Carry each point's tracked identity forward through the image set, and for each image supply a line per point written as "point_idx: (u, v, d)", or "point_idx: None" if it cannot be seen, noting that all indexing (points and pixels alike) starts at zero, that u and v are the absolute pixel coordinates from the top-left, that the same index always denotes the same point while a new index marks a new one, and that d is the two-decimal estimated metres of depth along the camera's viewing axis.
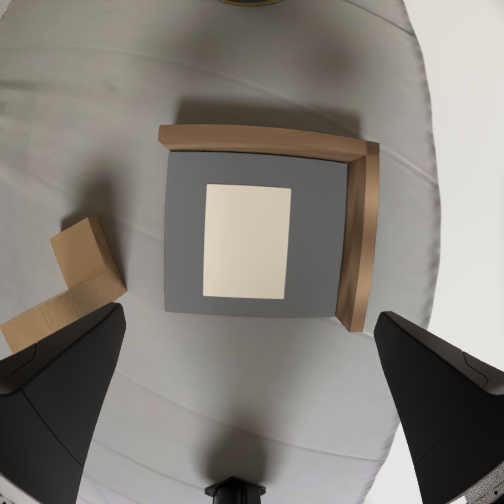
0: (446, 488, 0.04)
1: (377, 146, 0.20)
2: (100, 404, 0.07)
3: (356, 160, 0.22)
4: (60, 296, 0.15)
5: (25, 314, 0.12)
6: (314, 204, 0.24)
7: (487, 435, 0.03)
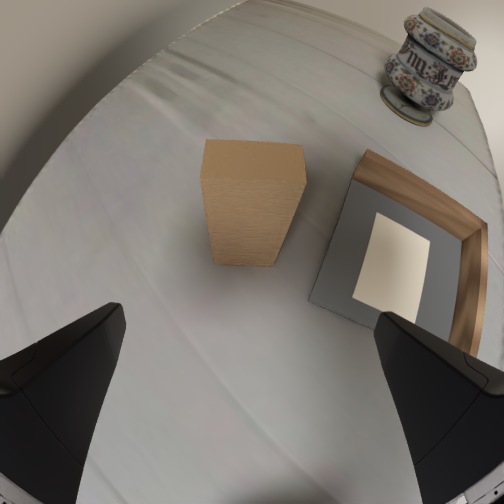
0: (446, 488, 0.04)
1: (486, 225, 0.23)
2: (100, 404, 0.07)
3: (471, 235, 0.25)
4: None
5: (274, 143, 0.14)
6: (442, 259, 0.25)
7: (487, 435, 0.03)
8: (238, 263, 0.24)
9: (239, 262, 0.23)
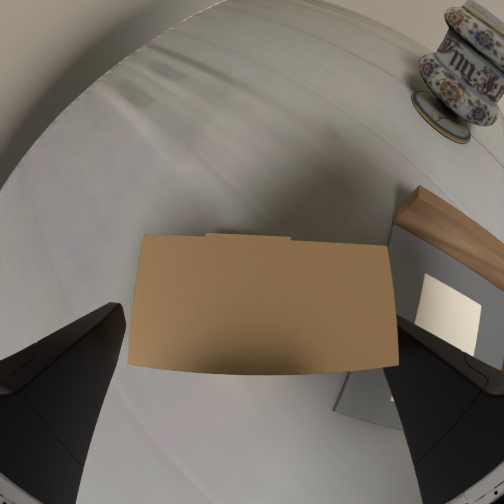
0: (446, 489, 0.04)
1: None
2: (100, 404, 0.07)
3: None
4: None
5: (323, 245, 0.05)
6: (492, 326, 0.17)
7: (487, 435, 0.03)
8: None
9: None
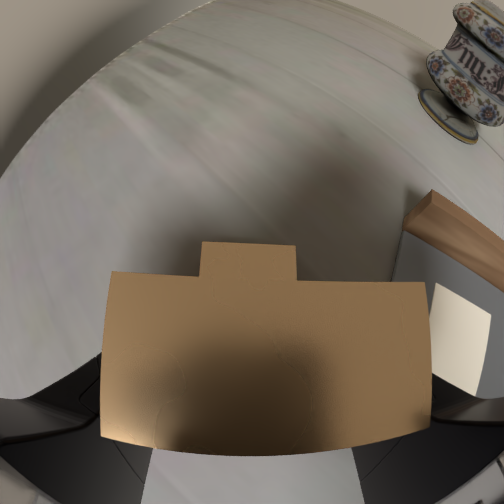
0: None
1: None
2: None
3: None
4: None
5: (349, 286, 0.04)
6: (501, 335, 0.15)
7: (429, 464, 0.03)
8: None
9: None
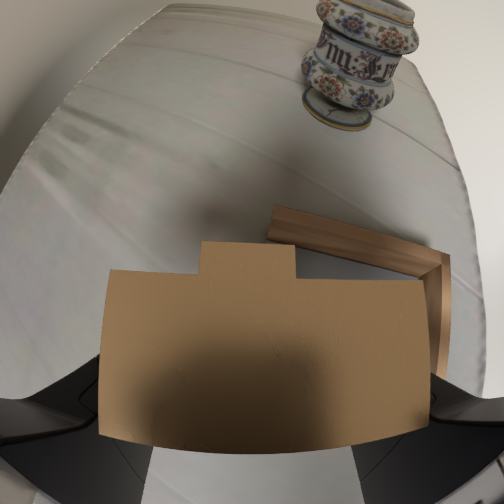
0: None
1: (448, 257, 0.21)
2: None
3: (429, 272, 0.23)
4: None
5: (347, 284, 0.04)
6: None
7: (429, 464, 0.03)
8: None
9: None
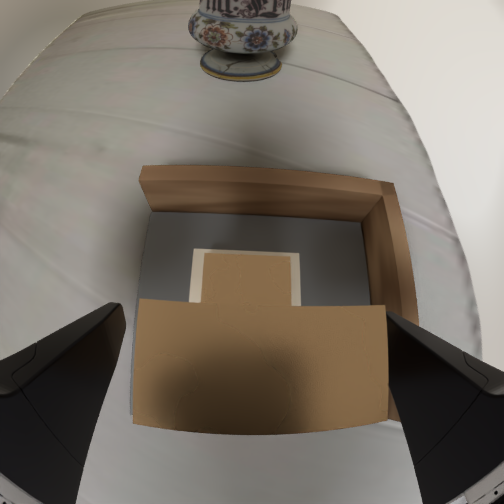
0: (446, 488, 0.04)
1: (392, 186, 0.17)
2: (100, 404, 0.07)
3: (371, 211, 0.19)
4: None
5: (320, 309, 0.05)
6: (329, 271, 0.19)
7: (487, 435, 0.03)
8: None
9: None
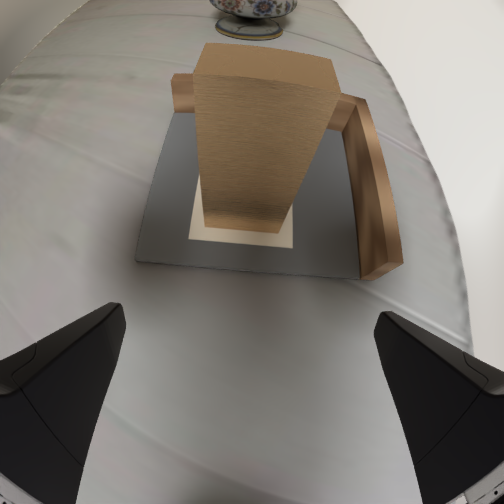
0: (446, 488, 0.04)
1: (364, 100, 0.21)
2: (100, 404, 0.07)
3: (348, 119, 0.22)
4: None
5: (295, 52, 0.09)
6: (315, 157, 0.22)
7: (487, 435, 0.03)
8: (235, 227, 0.19)
9: (236, 225, 0.18)
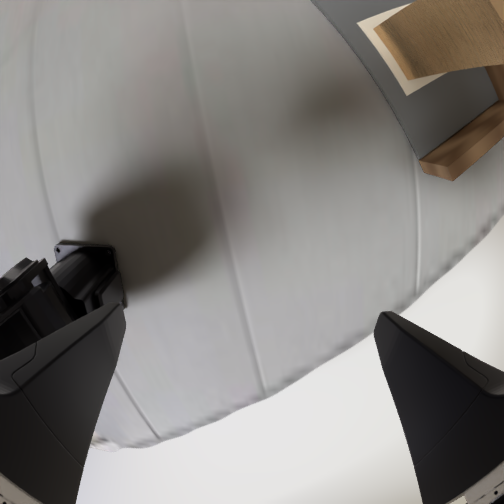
0: (446, 488, 0.04)
1: None
2: (100, 404, 0.07)
3: None
4: None
5: None
6: (470, 85, 0.16)
7: (487, 435, 0.03)
8: (390, 48, 0.15)
9: (392, 48, 0.15)
